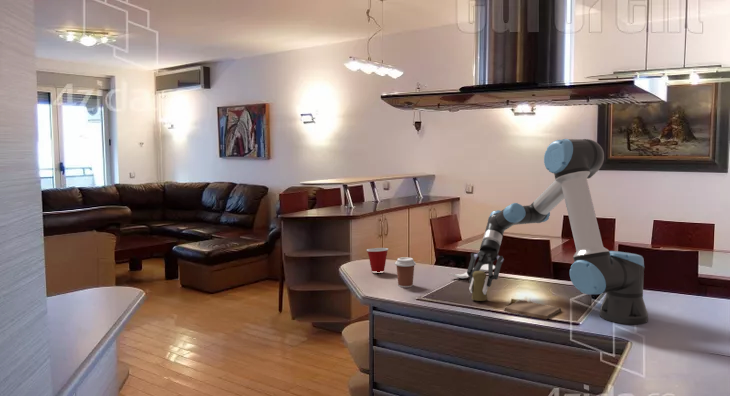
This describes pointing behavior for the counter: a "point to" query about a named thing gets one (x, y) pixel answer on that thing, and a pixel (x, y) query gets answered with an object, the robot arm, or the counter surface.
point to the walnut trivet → (532, 309)
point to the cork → (479, 286)
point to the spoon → (483, 268)
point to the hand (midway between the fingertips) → (477, 291)
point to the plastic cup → (377, 258)
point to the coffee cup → (405, 271)
